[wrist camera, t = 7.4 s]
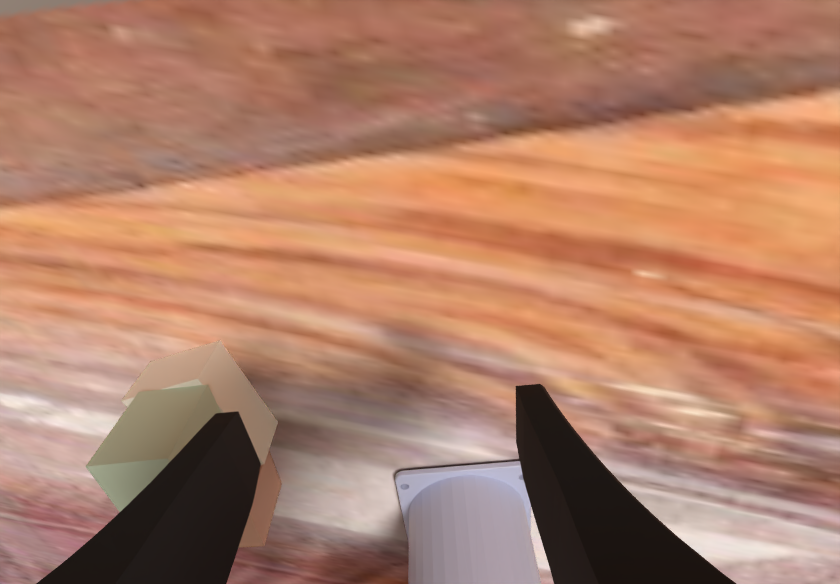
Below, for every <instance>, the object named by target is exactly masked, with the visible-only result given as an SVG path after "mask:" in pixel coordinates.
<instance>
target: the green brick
mask: <svg viewBox="0 0 840 584" xmlns="http://www.w3.org/2000/svg"><path fill="white" fill-rule="evenodd" d="M216 413H221V411H220V409H219V407H218V405H217V403H216V400H215V398H214V396H213V394H212V392H211V390H210V388H209V386H208V385H198V386H189V387H180V388H170V389H161V390H152V391H143V392H138V393H137V395H136V396H135V398H134V399H133V400H132V402H131V403H130V405H129V406H128V408H127V409H126V410H125V412H124V413H123V415H122V416H121V417H120V419H119V420H118V422H117V423H116V425H115V426H114V427H113V429H112V430H111V432H110V433H109V434H108V436H107V437H106V439H105V440H104V441H103V443H102V444H101V446H100V447H99V449H98V450H97V451H96V453H95V454H94V456H93V457H92V458H91V460H90V461H89V463H88V464H87V465H86V468H87V469H88V470H89V472H90V473H91V474H92V476H93V477H94V478H95V480H96V481H97V482H98V484H99V485H100V486H101V488H102V489H103V490H104V492H105V493H106V494H107V496H108V497H109V498H110V500H111V501H112V502H113V504H114V505H115V506H116V508H117V509H118V510H119V512H121V511H122V510H123V509H124V508H125V507H126V506H127V505H128V504H129V503H130V502H131V501H132V500H133V499H134V498H135V497H136V496H137V495H138V494H139V493H140V492H141V491H142V490H143V489H144V488H145V487H146V486H147V485H148V484H149V483H150V482H151V481H152V480H153V479H154V478H155V477H156V476H157V475H158V474H159V473H160V472H161V471H162V470H163V469H164V468H165V467H166V466H167V464H168V463H169V462H170V461H171V460H172V459H173V458H174V457H175V456H176V455H177V454H178V453H179V452H180V451H181V450H182V449H183V447H184V446H185V445H186V444H187V443H188V442H189V441H190V440H191V439H192V438H193V437H194V436H195V435H196V433H197V432H198V431H199V430H200V429H201V428H202V427H203V426H204V425H205V424H206V423H207V422H208V421H209V420H210V419H211V418H212V417H213V416H214V415H215V414H216Z"/></svg>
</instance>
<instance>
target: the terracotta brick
mask: <svg viewBox="0 0 840 584" xmlns="http://www.w3.org/2000/svg"><path fill="white" fill-rule="evenodd" d="M281 485H282V483H281V481H280V478H279V475H278V473H277V470H276V467H275V465H274V462H273V459H272V457H271V454H270V451H269V452H268V455H267V458H266V461H265V464H263V465H261V466H260V471H259V477H258V482H257V487H256V492H255V496H254V501H253V505H252V508H251V511H250V514H249V517H248V520H247V523H246V526H245V529H244V532H243V535H242V538H241V541H240V544H239V547H238V548H241V547H257V546H265V542H266V539H267V535H268V532H269V528H270V524H271V521H272V517H273V514H274V510H275V506H276V503H277V499H278V496H279V492H280V488H281Z"/></svg>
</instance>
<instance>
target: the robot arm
mask: <svg viewBox="0 0 840 584" xmlns="http://www.w3.org/2000/svg"><path fill="white" fill-rule="evenodd" d="M516 443H517V448H518V453H519V459H520V461H513V462H501V463H489V464H477V465H465V466H453V467H441V468H429V469H416V470H404V471H399V472H398V473H397V474H396V476H395V482H396V487H397V492H398V496H399V501H400V506H401V510H402V515H403V519H404V524H405V529H406V533H407V538H408V543H409V563H408V584H541V580H540V575H539V570H538V566H537V561H536V557H535V552H534V548H533V543H532V539H531V534H530V533H531V507H532V510H533V513H534V517H535V520H536V523H537V527H538V530H539V533H540V537H541V540H542V543H543V546H544V550H545V553H546V556H547V560H548V563H549V566H550V570H551V573H552V577H553V581H554V584H736V583H735V582H733V581H732V580H731V579H729V578H728V577H727V576H725V575H724V574H723V573H721V572H720V571H719V570H718V569H716V568H715V567H714V566H713V565H712V564H710V563H709V562H708V561H707V560H705V559H704V558H703V557H702V556H701V555H699V554H698V553H697V552H696V551H694V550H693V549H692V548H691V547H690V546H688V545H687V544H686V543H685V542H683V541H682V540H681V539H680V538H678V537H677V536H676V535H675V534H674V533H673V532H672V531H671V530H669V529H668V528H667V527H666V526H665V525H664V524H663V523H662V522H661V521H659V520H658V519H657V518H656V517H655V516H654V515H653V514H652V513H651V512H650V511H649V510H648V509H646V508H645V507H644V506H643V505H642V504H641V503H640V502H639V501H638V500H637V499H636V498H635V497H634V496H633V495H632V494H631V493H630V492H629V491H628V490H627V489H626V488H625V487H624V486H623V485H622V484H621V483H620V482H619V481H618V480H617V479H616V477H615V476H614V475H613V474H612V473H611V472H610V471H609V470H608V469H607V468H606V467H605V466H604V464H603V463H602V462H601V461H600V460H599V459H598V458H597V456H596V455H595V454H594V453H593V452H592V451H591V449H590V448H589V447H588V446H587V445H586V443H585V442H584V441H583V440H582V438H581V437H580V436H579V435H578V434H577V432H576V431H575V430H574V429H573V427H572V426H571V425H570V423H569V422H568V421H567V419H566V418H565V417H564V415H563V414H562V413H561V411H560V410H559V408H558V407H557V406H556V404H555V403H554V401H553V400H552V398H551V397H550V395H549V394H548V392H547V391H546V389H545V387H543V386H542V385H541V384H535V385H524V386H516ZM260 466H261V463H260V460H259V458H258V456H257V453H256V451H255V449H254V446H253V444H252V442H251V439H250V437H249V435H248V432H247V430H246V428H245V425H244V423H243V421H242V419H241V416H240V414H239V412H238V411H236V412H225V413H216V414H215V415H214V416H213V417H212V418H211V419H210V420H209V421H208V422H207V423H206V424H205V425H204V426H203V427H202V428H201V429H200V430H199V431H198V432H197V433H196V435H195V436H194V437H193V438H192V439H191V440H190V441H189V442H188V443H187V444H186V445H185V446H184V447H183V449H182V450H181V451H180V452H179V453H178V454H177V455H176V456H175V457H174V458H173V459H172V460H171V461H170V462H169V463H168V464H167V466H166V467H165V468H164V469H163V470H162V471H161V472H160V473H159V474H158V475H157V476H156V477H155V478H154V479H153V480H152V481H151V482H150V483H149V484H148V485H147V486H146V487H145V488H144V489H143V490H142V491H141V492H140V493H139V494H138V495H137V496H136V497H135V498H134V499H133V500H132V501H131V502H130V503H129V504H128V505H127V506H126V507H125V508H124V509H123V510H122V511H121V512H120V513H119V514H118V515H117V516H116V517H115V518H114V519H112V520H111V521H110V522H109V523H108V524H107V525H106V526H105V527H104V528H103V529H102V530H100V531H99V532H98V533H97V534H96V535H95V536H94V537H93V538H92V539H90V540H89V541H88V542H87V543H86V544H85V545H83V546H82V547H81V548H80V549H79V550H78V551H76V552H75V553H74V554H73V555H72V556H71V557H69V558H68V559H67V560H66V561H65V562H63V563H62V564H61V565H60V566H58V567H57V568H56V569H55V570H53V571H52V572H51V573H49V574H48V575H47V576H46V577H44V578H43V579H42V580H40V581H39V582H38V583H37V584H226V582H227V579H228V577H229V574H230V571H231V568H232V565H233V562H234V559H235V556H236V553H237V550H238V547H239V544H240V541H241V538H242V535H243V532H244V529H245V526H246V523H247V520H248V517H249V514H250V511H251V508H252V505H253V501H254V496H255V492H256V487H257V482H258V477H259V471H260Z"/></svg>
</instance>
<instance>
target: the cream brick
mask: <svg viewBox="0 0 840 584" xmlns="http://www.w3.org/2000/svg"><path fill="white" fill-rule="evenodd" d="M198 385H208V386H209V388H210V390H211V392H212V394H213V396H214V398H215V400H216V403H217V405H218V407H219V409H220V411H221V413H225V412H236V411H238V412H239V414H240V416H241V419H242V421H243V423H244V425H245V428H246V430H247V432H248V435H249V437H250V439H251V442H252V444H253V446H254V449H255V451H256V453H257V456H258V458H259V460H260V463H261V465H263V464H265V461H266V458H267V455H268V452H269V449H270V446H271V442H272V439H273V436H274V433H275V430H276V427H277V424H278V421H277V420H276V419H275V417H274V416H273V414H272V413H271V411H270V410H269V409H268V407H267V406H266V404H265V403H264V402H263V400H262V399H261V397H260V396H259V394H258V393H257V392H256V390H255V389H254V387H253V386H252V385H251V383H250V382H249V380H248V379H247V377H246V376H245V375H244V373H243V372H242V370H241V369H240V368H239V366H238V365H237V363H236V362H235V361H234V359H233V358H232V356H231V355H230V353H229V352H228V351H227V349H226V348H225V346H224V345H223V344H222V342H221V341H220V340H219V341H216V342H212V343H209V344H206V345H202V346H199V347H196V348H193V349H189V350H186V351H183V352H180V353H176V354H173V355H170V356H166V357H163V358H160V359H157V360H153V361H150V363H149V364H148V365H147V367H146V368H145V369H144V371H143V372H142V373H141V375H140V376H139V378H138V379H137V380H136V382H135V383H134V384H133V386H132V387H131V388H130V390H129V391H128V392H127V394H126V395H125V396H124V398H123V399H122V400H121V402H122V403H123V404H124V405H125V406H126V407H127V408H128V406H129V405H130V403H131V402H132V400H133V399H134V398H135V396H136V395H137V393H138V392H143V391H152V390H161V389H170V388H180V387H189V386H198Z"/></svg>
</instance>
